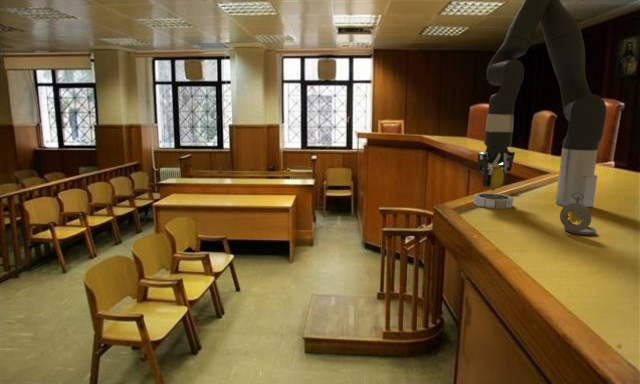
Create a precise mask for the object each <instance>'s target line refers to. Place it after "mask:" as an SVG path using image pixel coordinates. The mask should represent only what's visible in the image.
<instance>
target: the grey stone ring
mask: <svg viewBox="0 0 640 384" xmlns="http://www.w3.org/2000/svg"><path fill="white" fill-rule="evenodd" d="M473 203H474V204H473ZM472 204H473V205H475V206H477V207H481V208H486V209H487V208H489V209H493V210H494V209H496V210H497V209H501V210H502V209H504V210H505V209H511V208H512V207H513V204H514V197H513V196H510V195H507V194H503V193H495V192H480V193H474V195H473V201H472Z"/></svg>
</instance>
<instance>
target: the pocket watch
mask: <svg viewBox="0 0 640 384" xmlns="http://www.w3.org/2000/svg"><path fill="white" fill-rule="evenodd" d="M574 194H580V193H573V194H572V197H573V195H574ZM580 195H581V196H582V198H581V199H580V198H579V196H577V198H574V197H573V198H574V199H575V200H576V203H570V204H567V205H566V206H563V207H562V209H561V210H560V212H559V213H560V214H559V219H560V222H561V224H562V225H563V228H564V230H565V231H566V232H569V233H573V234H577V235H585V236H586V235H594V234H596V233H597V229H596V228H595V227H590V224H591V222H592V214H591V211H590V210H589V207H586V206H584V205H582V204H580V203H579V201H580V200H582V199H583V198H584V196H583V195H582V194H580ZM576 222H577V224H575V223H576Z"/></svg>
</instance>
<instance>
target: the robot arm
mask: <svg viewBox="0 0 640 384" xmlns="http://www.w3.org/2000/svg"><path fill="white" fill-rule="evenodd" d="M539 24H540V27H541V31H542V33H543V37H544V42H545V45H546V48H547V53H548V56H549V59H550V63H551V65H552V68H553V71H554V75H555V76H556V79H557V82H558V86H559V91H560V97H561V103H562V104H561V105H562V109H563V110H562V111H563V115H564V117H565V119H566V120H567V121H568V128H567V133H566V136H565V137H564V139H563V141H562V148H561V157H560V164H559V172H558V181H557V187H556V188H557V189H556V197H555V204H556V205H559V206H563V207H564V206H566V205H567V204H570V203H576V200H575V199H574V198H577V196H579V198H580V199H581V198H582V196H581V195H580V194H582V195H583V196H584V198H583V199H582V200H580V201H579V203H580V204H582V205H584V206H586V207H587V208H592V207H594V203H595V202H594V201H595V195H596V189H597V188H596V187H597V182H598V181H597V180H598V175H596V174H595V172H596V166H597V157H598V150H599V144H600V143H601V140H602V138H603V135H604V128H605V123H606V116H607V105H606V103H605V101H604V99H603V98H602V97H601V96H599V95H597V94H592V93H591V90H590V87H589V84H588V81H587V77H586V48H585V41H584V37H583V34H582V30H581V27H580V25H579V23H578V21H577V19H576V18H575V16H573V15H572V14H571V13H570V12H569V11H568V9H566V7H565V6H564V4H562V2H561V0H524V2H523V3H522V5H521V6H520V8H519V10H518V11H517V13H516V15H515V16H514V17H513V19H512V22H511V23H510V25H509V28H508V30H507V33H506V35H505V38H504V40H503V44H502V45H501V46H500V47H499V49H498V50H497V51H496V52H495V54H494V56H493V57H492V58H491V60H490V62H489V64H488V66H487V69H486V80H487V82H488V83H489V84H490V85H491V86H500V88H499V90H498V92H497V93H494V94H492V95H491V96H490V97H489V102H488V111H487V117H486V122H485V131H484V141H483V143H484V146H486V148H485V150H484V152H478V153H477V167H478V173H482V174H483V176H482V186H483V187H484V188H489V187H490V186H491V176H492V175H491V173H492V171H493V169H494V168H495V167H496V165H497V166H498V167H500V168H501V169H502V170H503V173H504V181H503V184H502V185H501V186H500V187H502V186H503V187H504V185H505V180H506V174H507V173H508V172H511V170H512V166H513V162H514V159H515V154H516V153H515V152H514V151H511V150H510V151H509V148H510V147H511V146H512V141H513V131H514V115H515V114H514V113H515V103H516V102H515V101H516V100H517V97H518V94H519V91H520V89H521V86H522V84H523V82H524V81H523V80H524V76H525V68H524V64H523V63H522V62H521V60H519V59H518V58H520V57H522V56H524V55H526V53H527V51H528V50H529V48H530V45H531V43H532V40H533V38H534V36H535V33H536V31H537V28H538V26H539ZM489 167H490V168H489ZM488 168H489V170H488ZM573 193H580V194H574V195H573V197H574V198H573V197H572V194H573Z"/></svg>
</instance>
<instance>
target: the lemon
mask: <svg viewBox="0 0 640 384" xmlns="http://www.w3.org/2000/svg"><path fill="white" fill-rule="evenodd" d="M489 168H490V167H488V170H489ZM501 168H502V167H501ZM501 168H500V167H498V166H497V165H496V167H495V168H494V169H493V171H492V173H491V175H492V176H491V186H490V187H488V189H490V190H491V191H495V190H497V189H498V188H500V187H502V186H501V185H502V184H503V181H504V173H503V170H502V169H501Z"/></svg>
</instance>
